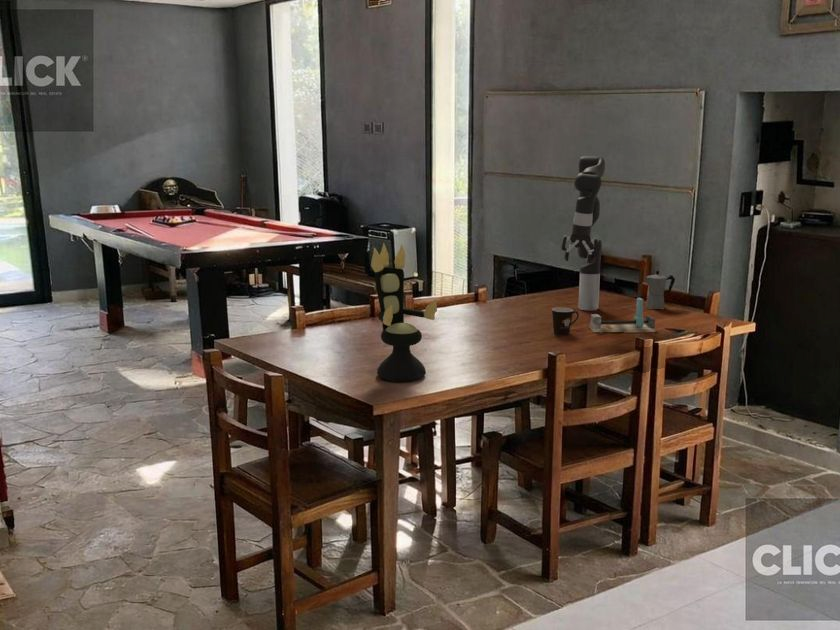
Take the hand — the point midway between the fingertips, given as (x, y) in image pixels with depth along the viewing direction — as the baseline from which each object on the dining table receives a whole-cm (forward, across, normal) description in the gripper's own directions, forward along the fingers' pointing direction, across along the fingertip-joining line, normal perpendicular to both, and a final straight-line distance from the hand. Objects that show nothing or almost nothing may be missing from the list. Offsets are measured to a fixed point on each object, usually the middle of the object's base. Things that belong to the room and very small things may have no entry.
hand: (577, 261), depth 350 cm
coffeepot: (+31, -46, -48) cm, 73 cm away
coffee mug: (+29, +2, +8) cm, 30 cm away
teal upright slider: (+25, -29, -2) cm, 39 cm away
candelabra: (+28, +64, +76) cm, 103 cm away
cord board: (+28, -22, 0) cm, 36 cm away
